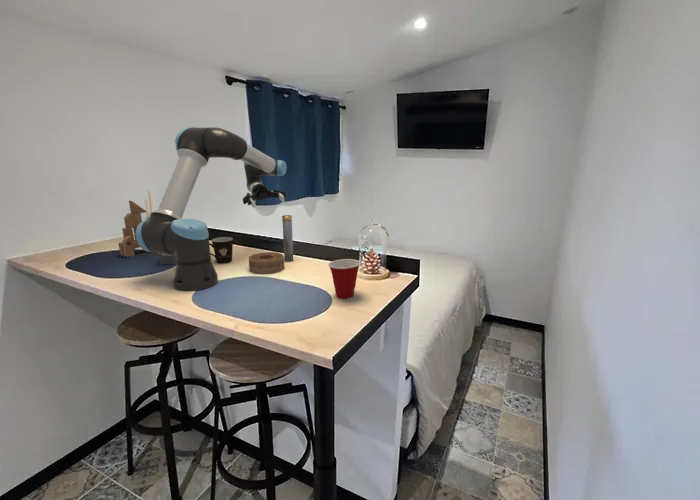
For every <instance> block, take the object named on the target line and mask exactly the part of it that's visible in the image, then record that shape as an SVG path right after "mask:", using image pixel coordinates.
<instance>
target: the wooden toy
mask: <svg viewBox="0 0 700 500" xmlns="http://www.w3.org/2000/svg"><path fill="white" fill-rule="evenodd" d="M128 203H129V204H128V205H129V210H130V212H128V213H126V215H125V216H124V218H123V219H124V227H123V228H122V229H121V230H122V234H123V235H122V236H123V239H122V242H118V248H119V249H118V250H119V253H120V254H121V255H124V256H127V257H128V256H133V255H135V251H134V250H136V249H137V248H139V249H141V247H140V246H139V244H138V241H137V240H136V229H137V227H138V225H139V224H140V223H141V222H143V219H142V214H144V213H147V212H148V211H147V210H145V209H144V208H143V207H141V206H140V205H139V204H137V203H135V202H134V201H133V200H128ZM120 254H119V255H120ZM121 255H120V256H121Z"/></svg>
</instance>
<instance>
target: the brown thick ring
mask: <svg viewBox="0 0 700 500" xmlns="http://www.w3.org/2000/svg"><path fill="white" fill-rule="evenodd" d="M248 269H249V272H250V273H253V274H255V275H256V274H257V275H270V274H271V275H272V274H276V273H279V272H281V271H283V270H284V269H285V261H284V253H280V252H274V251H267V252H258V253H253V254H251V255H250V256H248Z"/></svg>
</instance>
